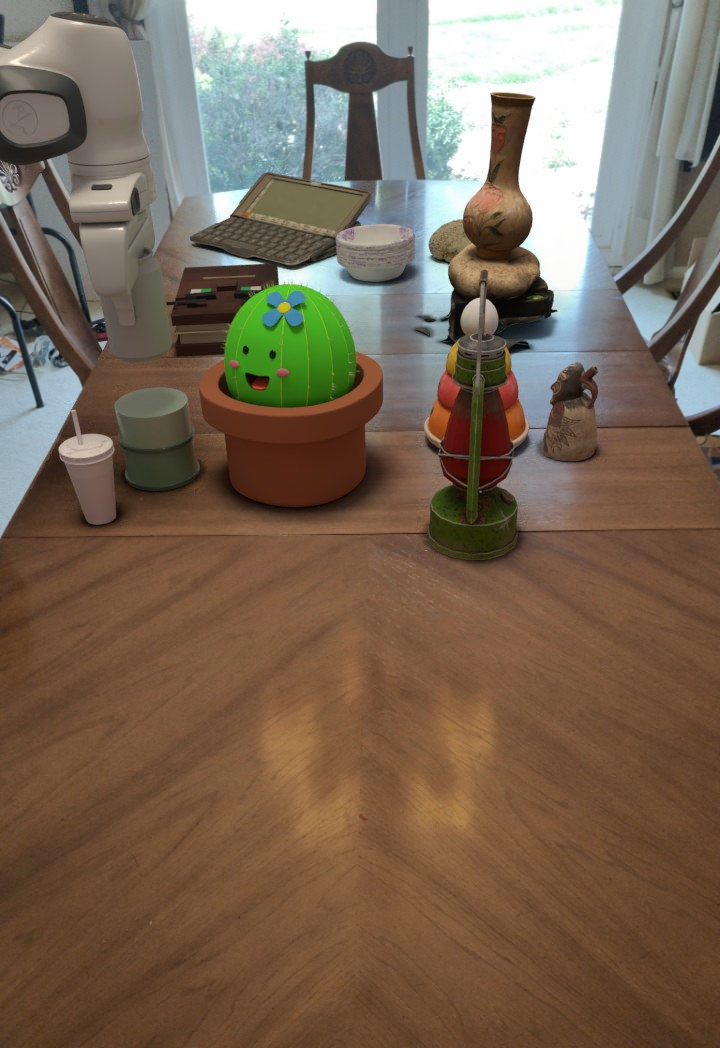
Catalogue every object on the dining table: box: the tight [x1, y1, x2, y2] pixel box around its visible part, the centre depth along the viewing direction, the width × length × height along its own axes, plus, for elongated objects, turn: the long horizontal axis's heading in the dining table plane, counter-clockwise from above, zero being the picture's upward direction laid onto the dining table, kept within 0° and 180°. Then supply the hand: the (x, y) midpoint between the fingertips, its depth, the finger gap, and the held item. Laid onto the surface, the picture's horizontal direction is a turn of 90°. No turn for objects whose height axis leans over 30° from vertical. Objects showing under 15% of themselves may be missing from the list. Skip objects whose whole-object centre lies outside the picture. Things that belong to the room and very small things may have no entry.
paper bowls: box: [336, 223, 416, 283], centre depth 190 cm, size 15×15×8 cm
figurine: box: [541, 361, 599, 462], centre depth 128 cm, size 7×7×12 cm
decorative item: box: [428, 218, 472, 263], centre depth 198 cm, size 12×9×10 cm
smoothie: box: [57, 409, 117, 526], centre depth 117 cm, size 6×6×14 cm
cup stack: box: [113, 386, 201, 492], centre depth 127 cm, size 10×10×10 cm
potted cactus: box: [198, 278, 384, 508], centre depth 120 cm, size 22×22×25 cm
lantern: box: [426, 270, 519, 561], centre depth 106 cm, size 14×11×30 cm
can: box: [99, 247, 173, 364], centre depth 116 cm, size 8×8×12 cm
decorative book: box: [166, 262, 280, 357], centre depth 170 cm, size 19×8×30 cm
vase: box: [415, 91, 558, 350], centre depth 158 cm, size 24×22×35 cm
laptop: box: [189, 171, 372, 266], centre depth 209 cm, size 26×32×10 cm
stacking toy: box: [423, 298, 530, 449], centre depth 129 cm, size 14×14×20 cm
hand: (135, 310), depth 116 cm, fingers closed on can, 7 cm apart
